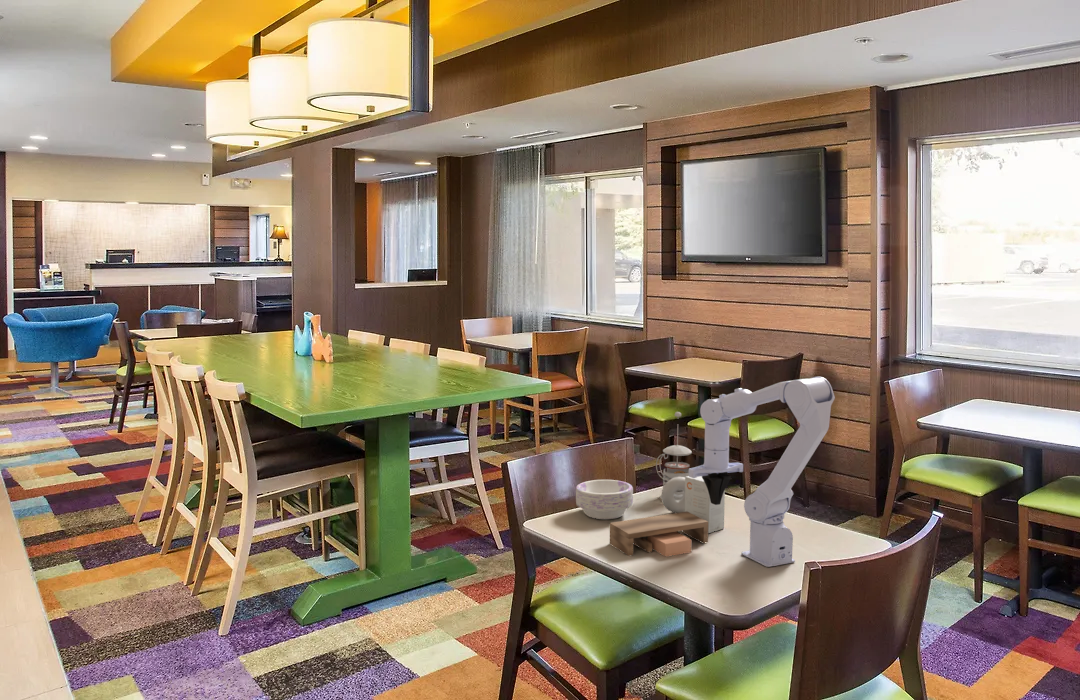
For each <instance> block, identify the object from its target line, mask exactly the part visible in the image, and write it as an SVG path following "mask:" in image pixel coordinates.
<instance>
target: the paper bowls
mask: <svg viewBox="0 0 1080 700" xmlns="http://www.w3.org/2000/svg"><path fill="white" fill-rule="evenodd" d="M633 494H634V487H633V485H632V484H630V483H629V482H626V481H621V480H617V479H615V480H614V479H594V480H593V479H592V480H588V481H587V480H586V481H583V482H581V483H579V484H577V485H576V486H575V502H576V503H575V504H576V506H577V507H579V508H580V509H582V510H583V512H584V514H585V515H586V516H588V517H589V518H591V517H592V519H595V518H596V520H614V519H619V518H621V517H622V516H624V514H625V512H626V510H627V509H629V508H630V507H632V506H633V505H634V495H633Z"/></svg>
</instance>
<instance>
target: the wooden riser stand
mask: <svg viewBox="0 0 1080 700" xmlns="http://www.w3.org/2000/svg"><path fill="white" fill-rule="evenodd" d="M670 532H677V533H679V534H681V535H683V536H685V537H687V538H689V539H690V537H691V538H693V539H694V538H695V540H696V539H697V540H696V541H698V540H699V541H698V542H700V541H701V542H700V543H702V542H703V543H702V544H706V543H705V542H708V543H709V533H708V521H706V520H704V519H702V518H700V517H697V516H695V515H693V514H691V513H689V512H680V513H673V512H672V513H667V514H666V513H665V514H661V515H660V514H659V515H655V516H648V517H640V518H634V519H626V520H619V521H613V522H609V545H611V546H612V545H613V546H612V547H613V548H615V547H616V549H617V550H619V551H620V550H621V551H620V552H621V553H624V554H625V555H626V556H629V557H630V555H631V556H634V545H635V546H637V547H638V546H639V548H640V549H642V550H643V551H645V552H647V553H652V552H653V549H652V543H650V542H648V541H647V537H648V536H651V535H657V534H664V533H670ZM685 534H686V535H685ZM633 543H634V544H633Z"/></svg>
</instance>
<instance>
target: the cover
mask: <svg viewBox="0 0 1080 700" xmlns="http://www.w3.org/2000/svg"><path fill="white" fill-rule="evenodd" d="M689 538H690V537H689ZM689 538H687V537H685V536H683V535H681V534H679V533H677V532H670V533H664V534H657V535H651V536H648V537H647V541H648V542H650V543H652V550H653V549H654V551H655V550H656V551H655V552H657V553H659V554H660V553H661V555H662V556H664V557H665V556H666V557H672V555H673V556H678V555H684V554H689V553H690V554H691V553H692V538H691V539H689ZM683 553H684V554H683Z"/></svg>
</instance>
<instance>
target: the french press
mask: <svg viewBox="0 0 1080 700" xmlns="http://www.w3.org/2000/svg"><path fill="white" fill-rule="evenodd" d="M674 417H677V418H679V417H682V413H681V412H680V411H675V413H674ZM676 430H677V433H676V434H677V437H676V439H677V440H676V445H670V446H667V447H666V448H664V449H662V452H663V453H662V454H660V455H659V456H657V459H656V462H655V469H656V472H657V475H658V476H659V477H660V479H662V488H663V487H664V485H665V484H666V483H667V482H668V481H669V480H671V479H672V478H675V477H686V476H689V468H690V467H691V466H690V465H691V464H689V463H687V462H682V461H681V462H680V461H678V459H679V457H682V456H683V457H684V456H689V455H690V456H691V454H692V453H693V452H692V450H691V449H689V448H688V447H686V446H683V445H679V425H677V429H676ZM666 455H667V456H666ZM669 456H676V461H669V462H668V461H667V462H665V463H664V467H665V468H663V470H662V469H661V468H662V467H661V464H659V470H660V473H661V474H660V473H659V471H658V462H662V458H664V460H666V459H668V458H669ZM658 460H659V461H658ZM662 471H663V472H662ZM661 475H662V476H661ZM659 497H660V498H661V499H662V497H661V495H659ZM683 497H684V491H683V490H682V489H679V490H677V491H676V492H675V493H674V499H675V500H677V501H679V500H681V499H682V498H683ZM660 498H659V499H660ZM661 499H660V500H661Z"/></svg>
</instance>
